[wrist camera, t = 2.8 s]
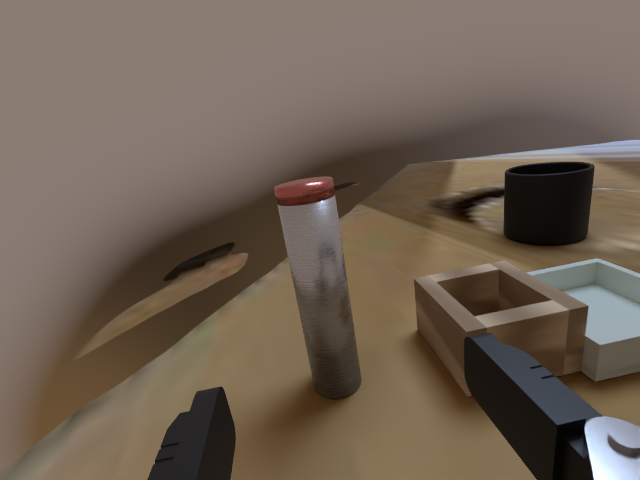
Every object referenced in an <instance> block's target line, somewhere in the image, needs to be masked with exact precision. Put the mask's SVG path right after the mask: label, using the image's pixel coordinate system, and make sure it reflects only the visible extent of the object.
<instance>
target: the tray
mask: <svg viewBox="0 0 640 480" xmlns="http://www.w3.org/2000/svg"><path fill="white" fill-rule="evenodd" d="M528 274H530V275H532V276H534V277H536V278H537V279H539V280H541V281H543V282H545V283H547V284H549V285H551V286H552V287H554V288H556V289H558V290H560V291H562V292H564V293H566V294H568V295H569V296H571V297H573V298H575V299H577V300H579V301H581V302H583V303H585V304H586V305H588V306H589V308H588V316H587V325H586V334H585V343H584V351H583V360H582V369H581V371H582V372H583V373H584V374H586V375H587V376H588V377H589V378H591V379H592V380H593V381H595V382H596V381H601V380H605V379H609V378H614V377H618V376H622V375H627V374H631V373H635V372H640V274H639V273H636V272H633V271H631V270H628V269H625V268H623V267H620V266H617V265H614V264H612V263H609V262H606V261H603V260H601V259H598V258H597V259H592V260H587V261H582V262H577V263H572V264H567V265H562V266H557V267H552V268H547V269H543V270H538V271H533V272H528Z"/></svg>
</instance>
